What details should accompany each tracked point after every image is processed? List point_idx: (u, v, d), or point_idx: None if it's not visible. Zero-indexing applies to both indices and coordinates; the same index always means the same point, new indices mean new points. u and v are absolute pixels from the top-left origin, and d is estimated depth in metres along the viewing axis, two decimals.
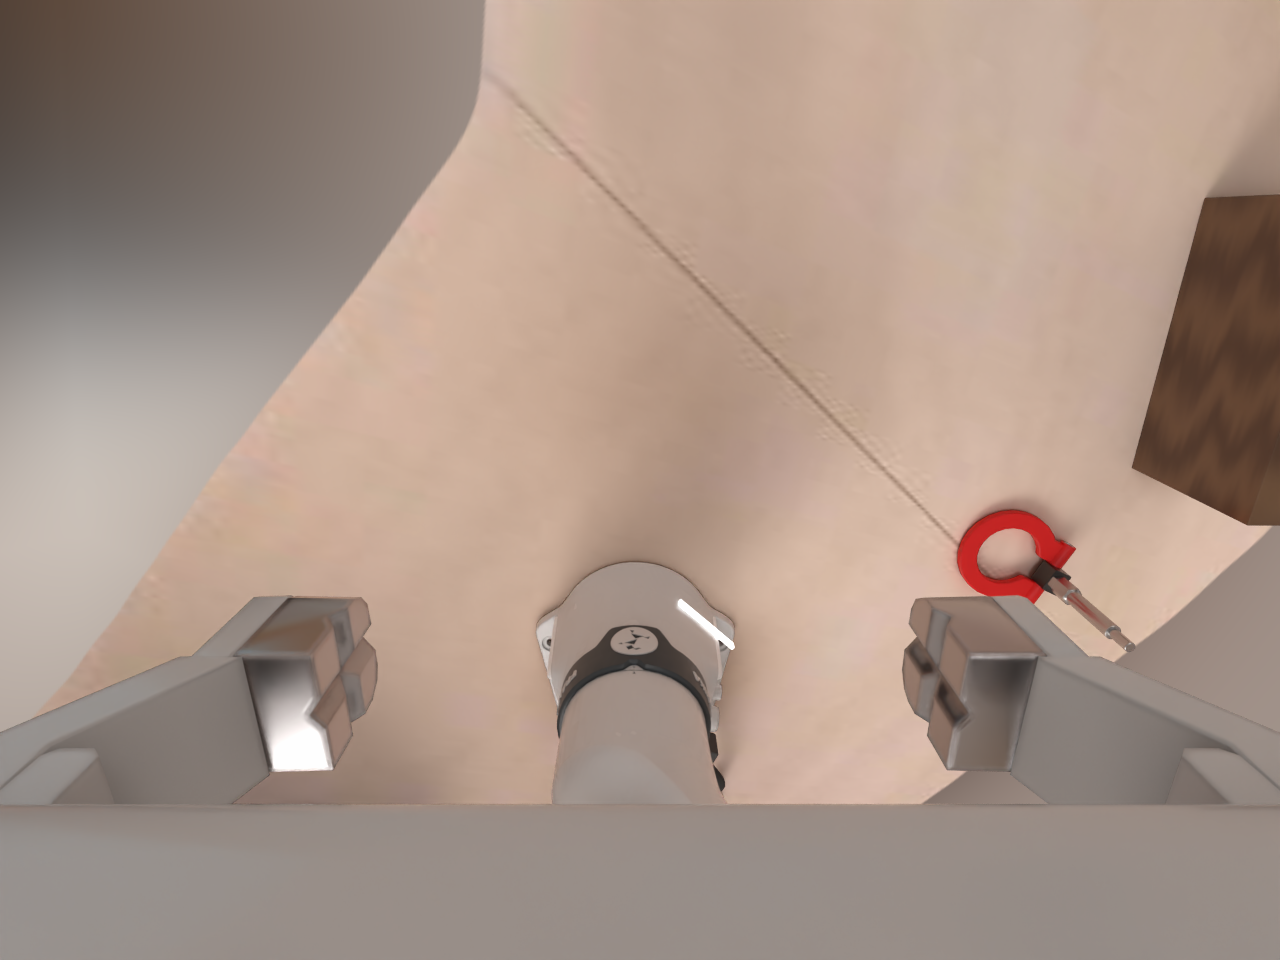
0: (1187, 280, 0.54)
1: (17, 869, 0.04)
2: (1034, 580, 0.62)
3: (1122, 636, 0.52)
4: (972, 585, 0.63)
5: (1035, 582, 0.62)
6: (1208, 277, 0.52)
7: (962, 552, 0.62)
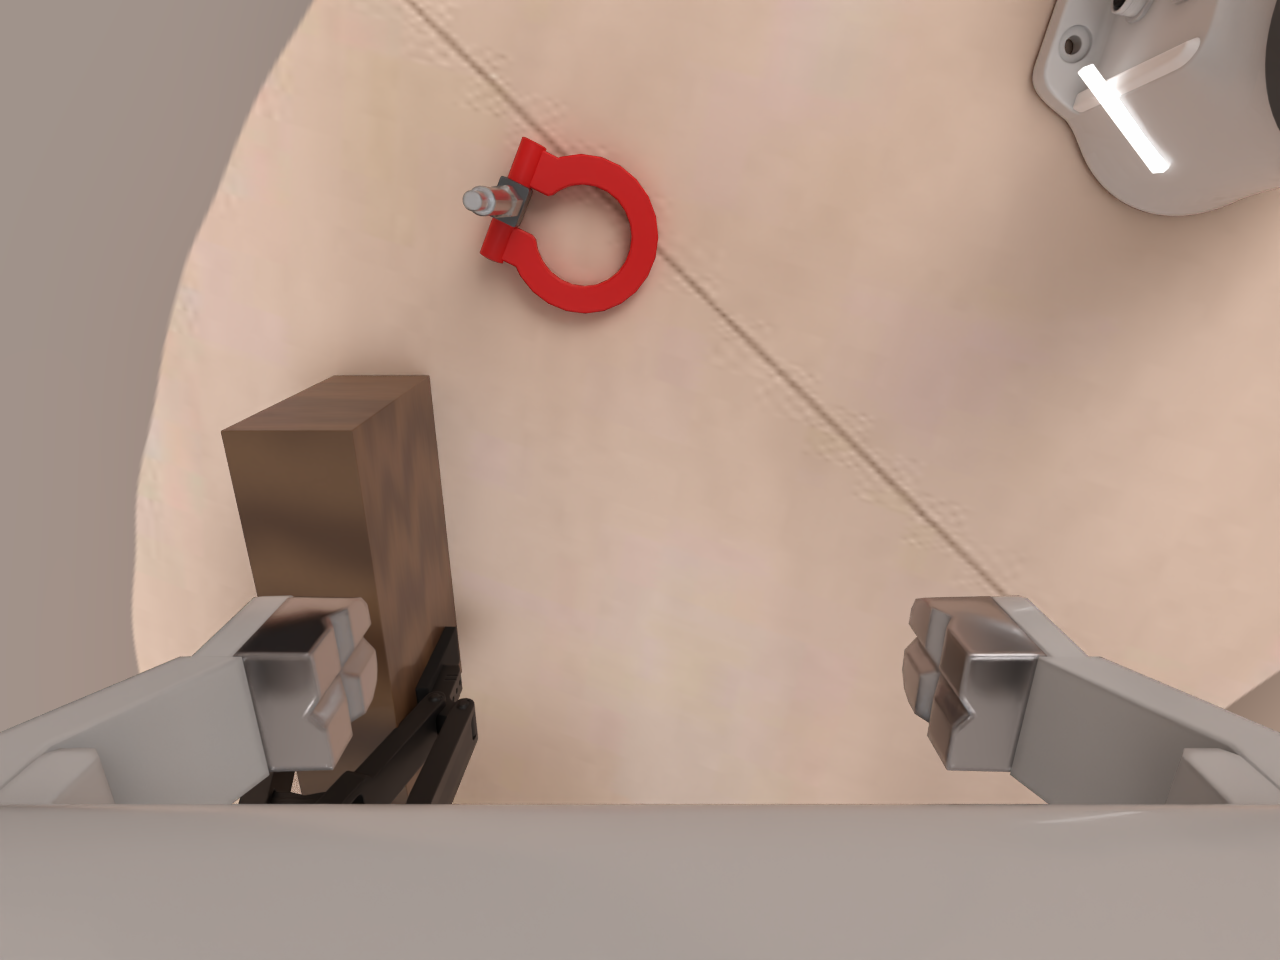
0: (451, 603, 0.47)
1: (17, 869, 0.04)
2: (531, 191, 0.37)
3: (479, 210, 0.28)
4: (630, 178, 0.37)
5: (530, 189, 0.37)
6: (444, 624, 0.46)
7: (655, 241, 0.39)
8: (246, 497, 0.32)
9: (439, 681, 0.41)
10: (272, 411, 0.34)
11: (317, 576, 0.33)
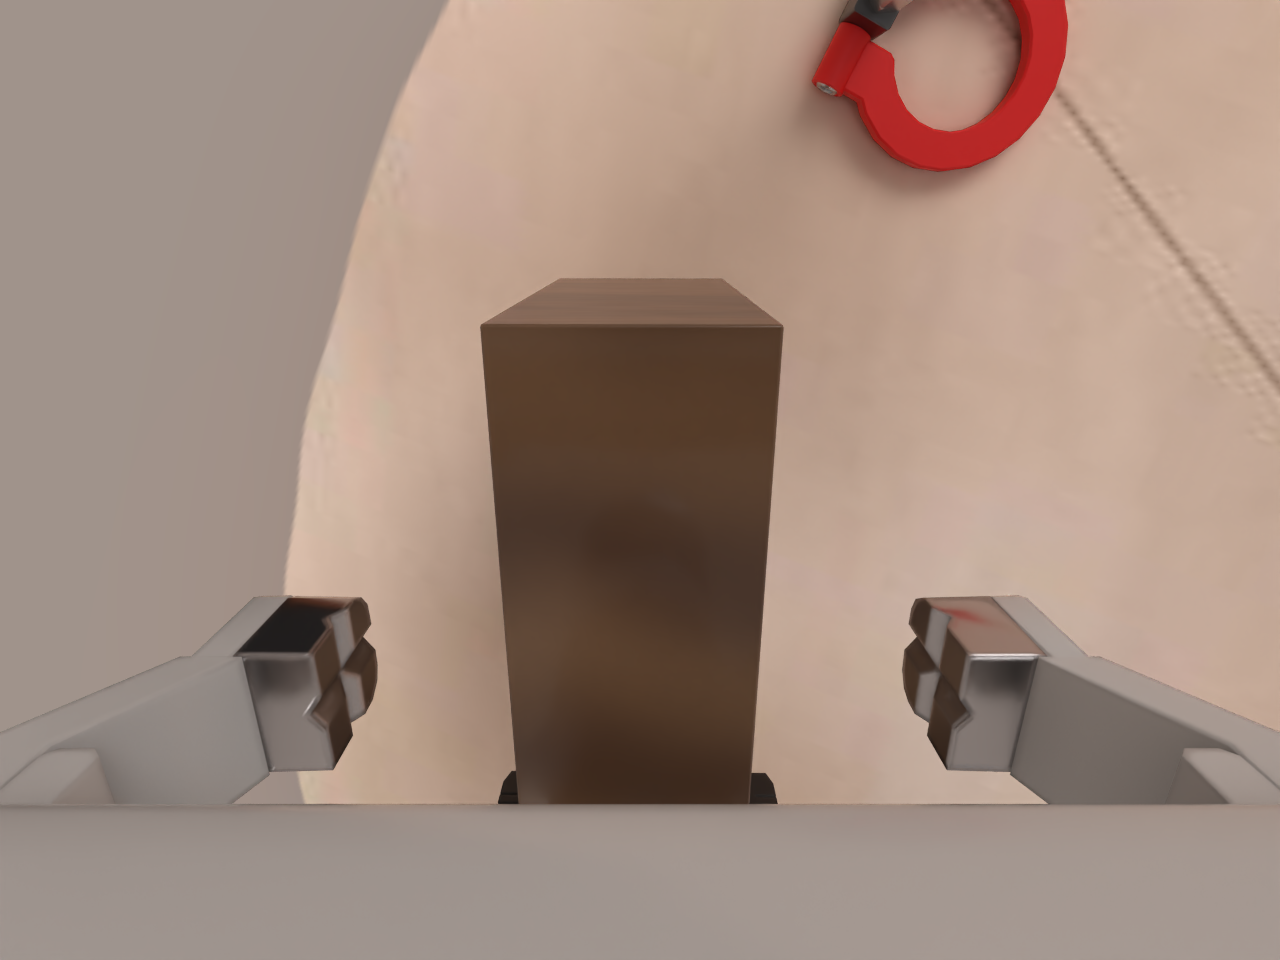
0: None
1: (17, 869, 0.04)
2: None
3: None
4: None
5: None
6: None
7: (1059, 64, 0.28)
8: (517, 479, 0.14)
9: None
10: (538, 304, 0.17)
11: (640, 648, 0.16)
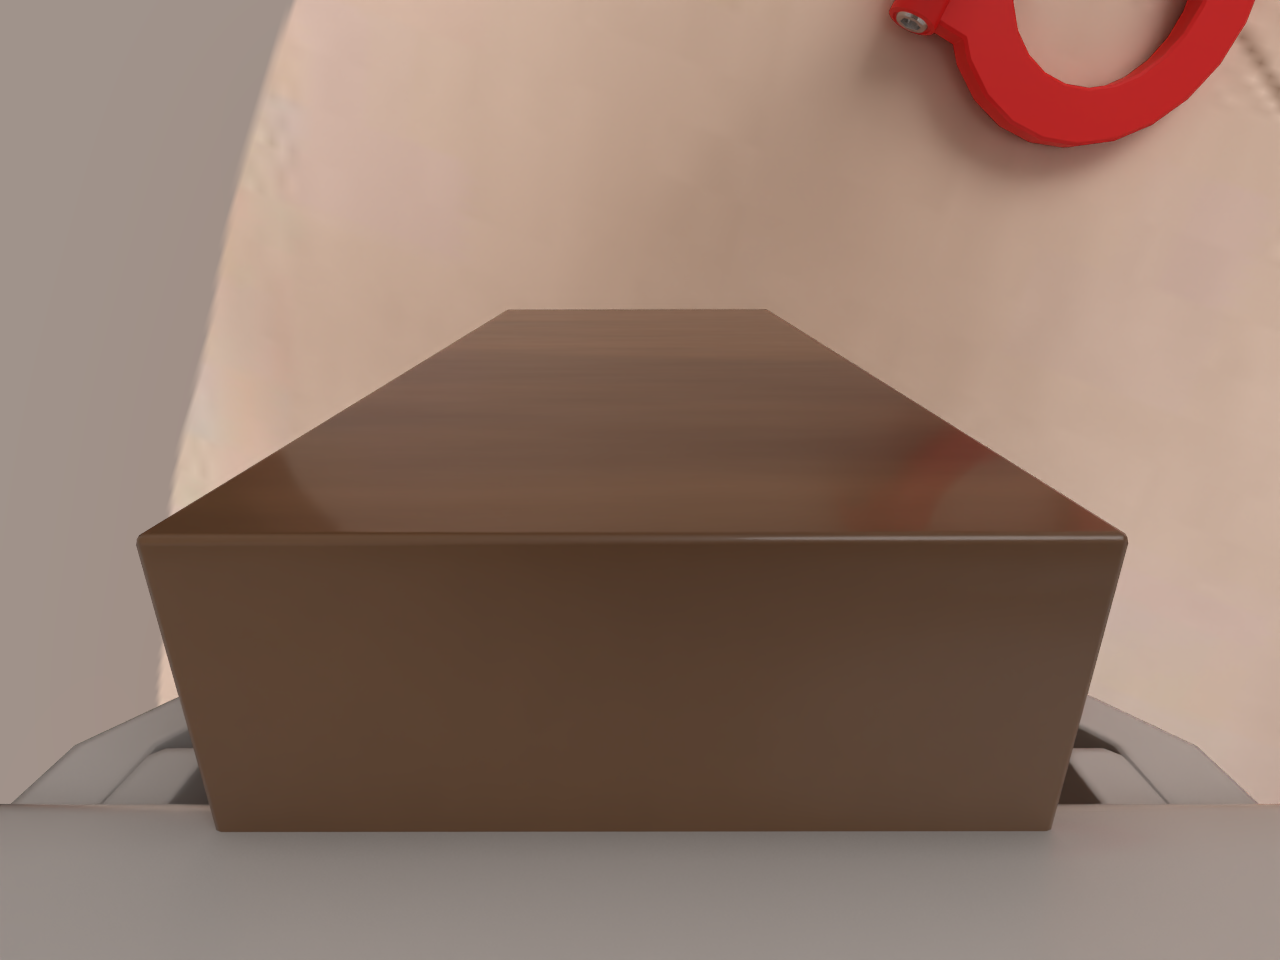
0: None
1: (15, 869, 0.04)
2: None
3: None
4: None
5: None
6: None
7: None
8: None
9: None
10: (414, 400, 0.07)
11: None
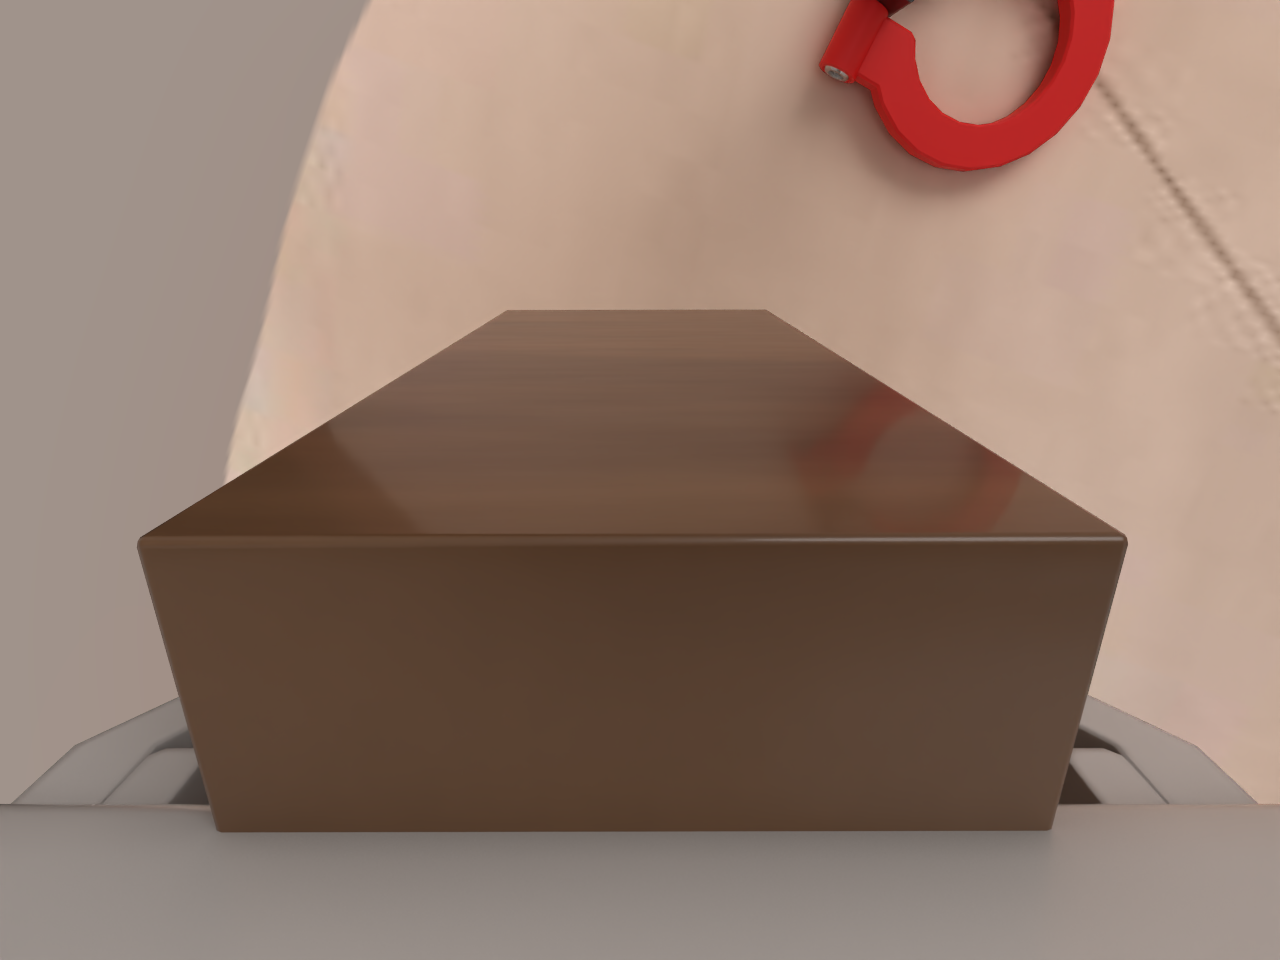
0: None
1: (17, 869, 0.04)
2: None
3: None
4: None
5: None
6: None
7: (1104, 47, 0.24)
8: None
9: None
10: (414, 401, 0.07)
11: None
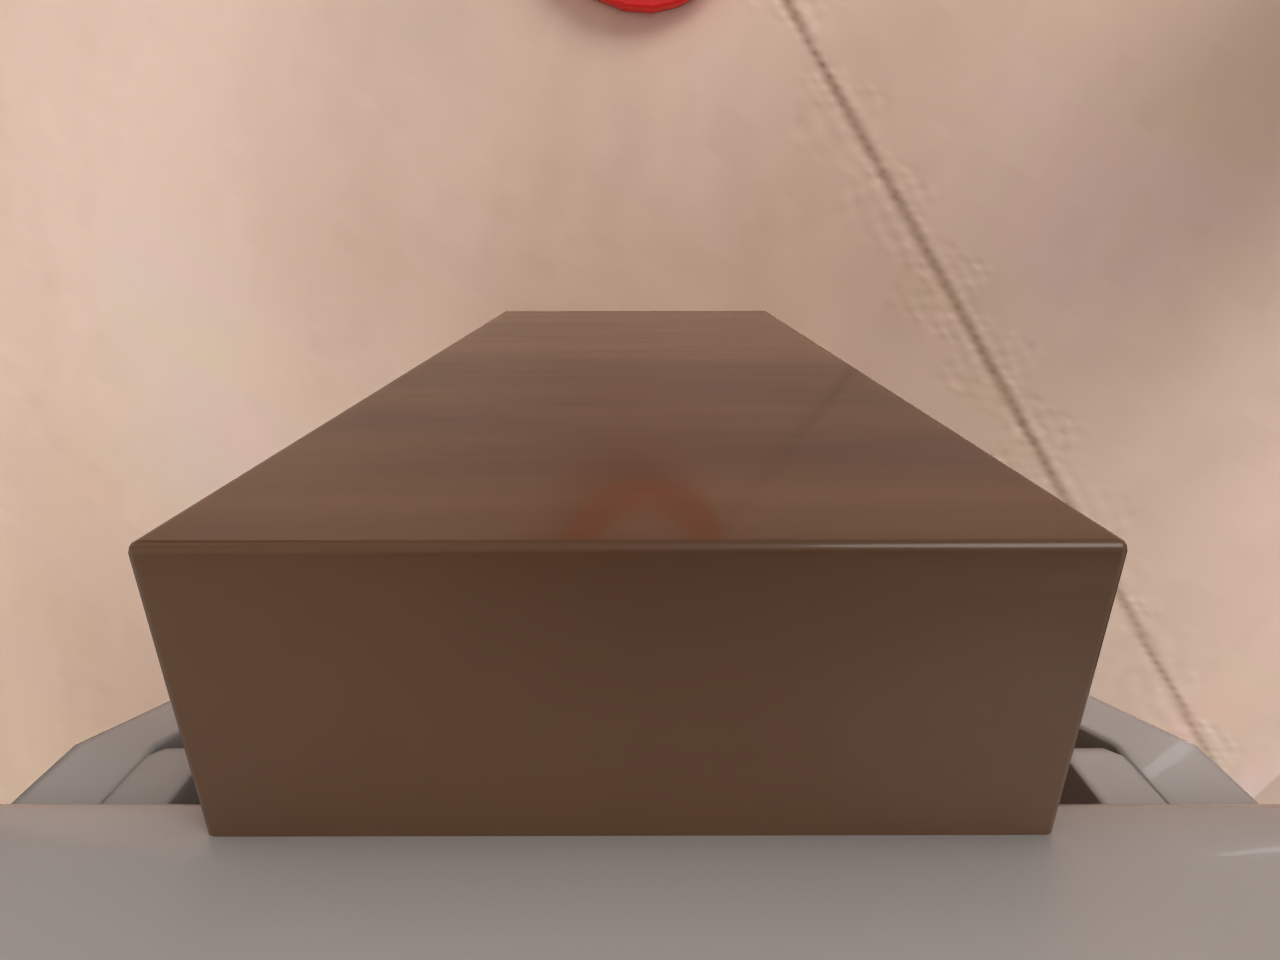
0: None
1: (17, 869, 0.04)
2: None
3: None
4: None
5: None
6: None
7: None
8: None
9: None
10: (410, 403, 0.07)
11: None
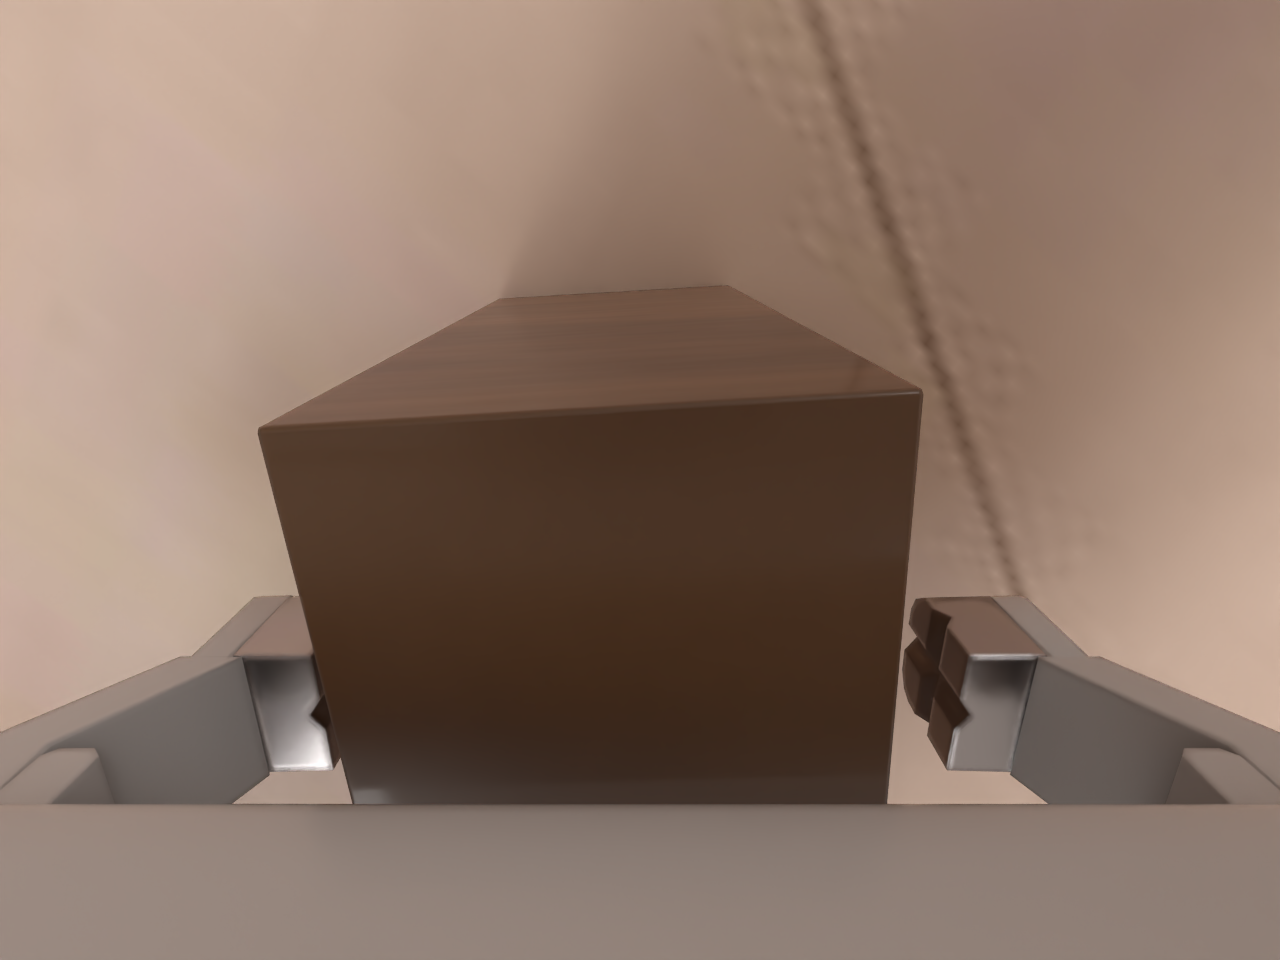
0: None
1: (17, 869, 0.04)
2: None
3: None
4: None
5: None
6: None
7: None
8: (381, 724, 0.07)
9: None
10: (429, 356, 0.09)
11: None
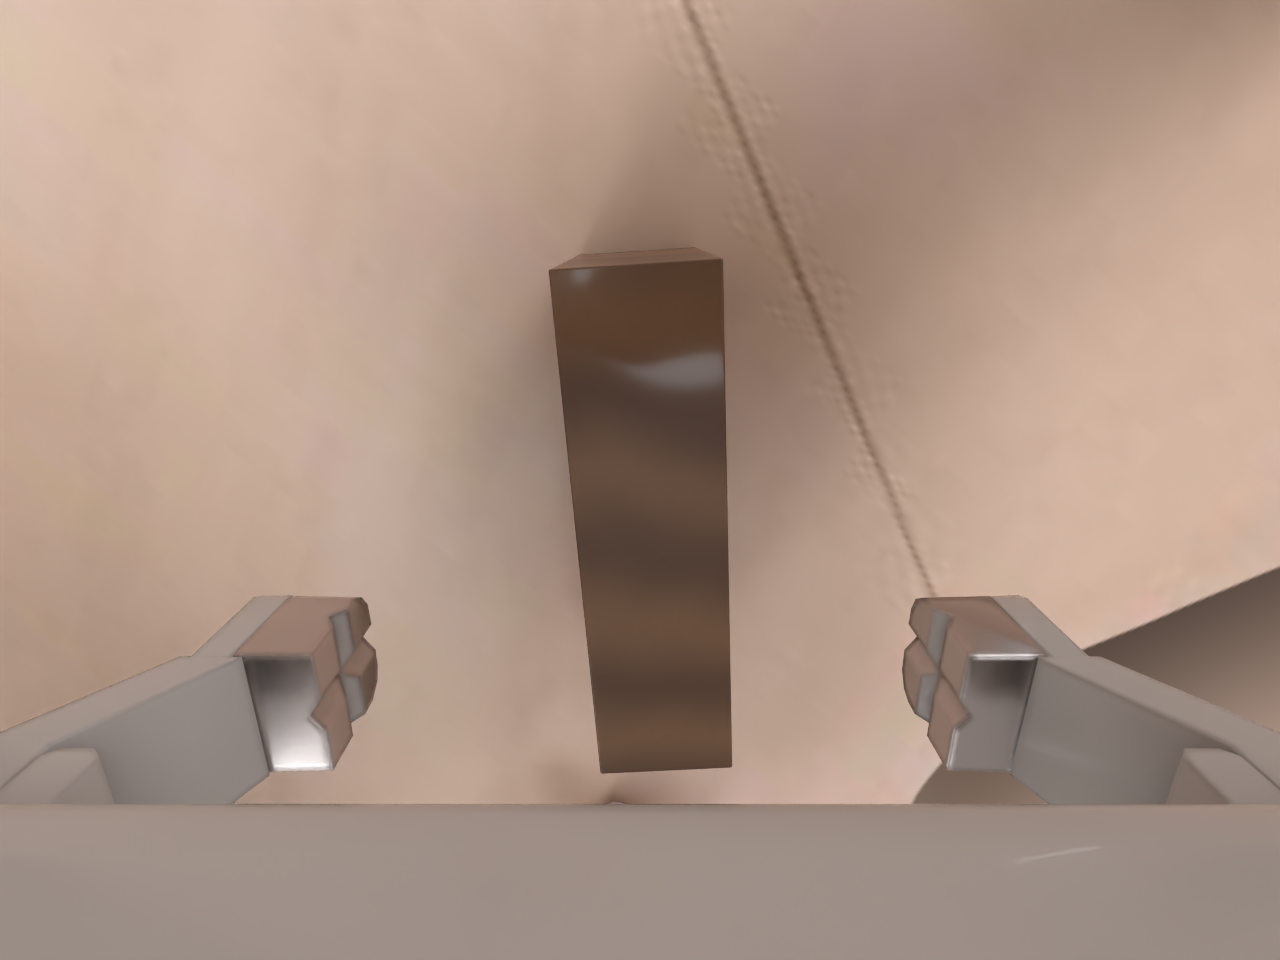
0: None
1: (17, 869, 0.04)
2: None
3: None
4: None
5: None
6: None
7: None
8: (573, 363, 0.24)
9: None
10: (575, 263, 0.26)
11: (652, 469, 0.26)
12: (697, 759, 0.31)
